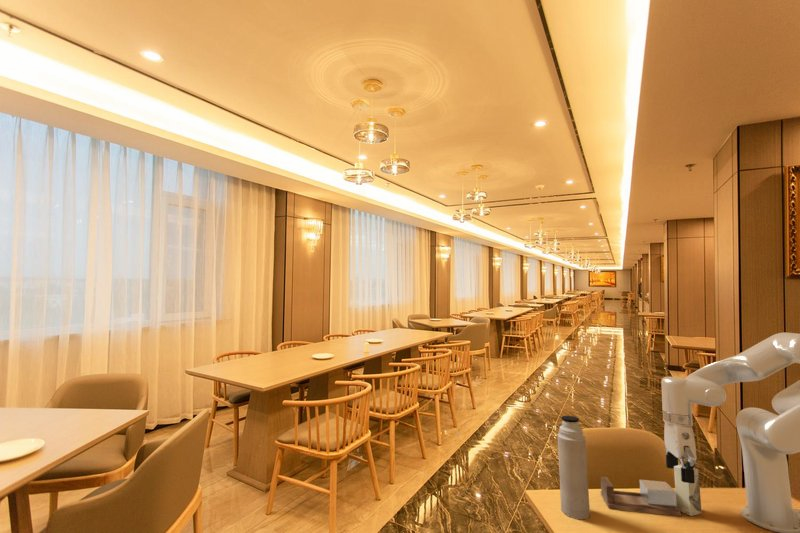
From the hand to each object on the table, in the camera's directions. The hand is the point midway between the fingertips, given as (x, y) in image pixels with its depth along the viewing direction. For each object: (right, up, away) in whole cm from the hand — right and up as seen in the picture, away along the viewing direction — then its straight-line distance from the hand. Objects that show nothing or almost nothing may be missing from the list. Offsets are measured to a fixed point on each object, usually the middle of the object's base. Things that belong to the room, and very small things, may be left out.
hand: (679, 475), depth 115 cm
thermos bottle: (-33, -11, -1) cm, 35 cm away
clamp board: (-11, -11, +2) cm, 16 cm away
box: (+2, -11, -2) cm, 11 cm away
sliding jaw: (-6, -9, +1) cm, 11 cm away
